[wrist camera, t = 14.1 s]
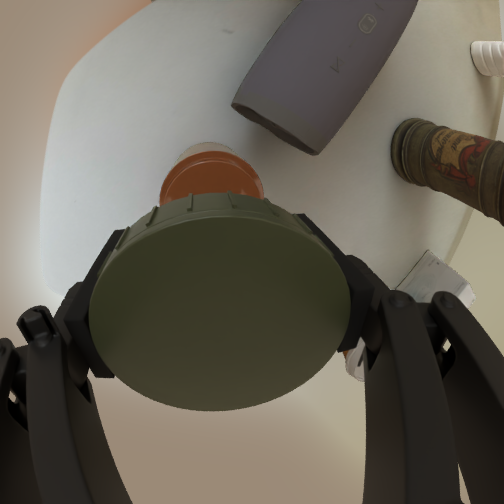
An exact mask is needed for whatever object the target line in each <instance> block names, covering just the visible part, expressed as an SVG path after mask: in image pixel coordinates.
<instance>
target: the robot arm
mask: <svg viewBox="0 0 504 504" xmlns="http://www.w3.org/2000/svg"><path fill="white" fill-rule="evenodd" d="M292 215H293V214H292ZM296 215H297V216H298V217H299V218H300V219H301V220H302V221H303V222H304V223H305V224H306V225H307V226H308V227H309V229H310V230H311V231H312V232H313V233H312V234H313V235H317V236H318V238H319V239H320V240H321V241H322V242H323V243H324V244H325V245H326V246H327V247H328V249H329V250H330V251H331V252H332V253H333V254H334V256H333V258H334V259H335V261H336V262H337V263H338V265H339V266H340V268H341V270H342V272H343V274H344V276H345V278H346V281H347V285H348V288H349V293H350V301H351V307H350V318H349V322H348V327H347V330H346V332H345V335H344V338H343V340H342V342H341V343H340V345H339V347H338V349H337V352H338V353H339V352H343V351H347V350H351V349H355V348H356V347H357V345H358V342H359V339H360V337H361V338H362V340H363V341H364V343H365V346H364V348H363V351H362V354H361V356H360V359H359V361H358V365H357V367H360V366H361V363H362V361H363V366H364V381H365V402H366V461H365V479H364V493H363V503H362V504H464V503H463V502H462V501H461V498H460V484H459V470H458V464H459V467H460V470H461V473H462V476H463V479H464V482H465V486H466V488H467V492H468V496H469V500H470V503H471V504H504V357H503V355H502V354H501V352H500V351H499V349H498V348H497V347H496V345H495V344H494V342H493V341H492V340H491V338H490V337H489V336H488V334H487V333H486V332H485V330H484V329H483V328H482V326H481V325H480V324H479V322H477V320H476V319H475V317H474V316H473V315H472V314H471V312H470V311H469V310H468V309H467V308H466V306H465V305H464V304H463V303H462V302H461V300H460V299H459V298H458V297H456V296H455V295H453V294H452V293H450V292H447V291H438V292H435V293H434V295H433V297H432V299H431V302H430V303H426V302H416V301H415V300H414V298H413V297H412V296H410V295H409V294H408V293H405V292H403V291H400V290H390V289H389V288H388V287H387V286H386V285H385V284H384V283H383V282H382V280H381V279H380V278H379V277H378V276H377V275H376V274H375V273H373V271H372V270H371V269H370V268H368V266H367V265H366V264H365V263H364V262H363V261H362V260H361V259H359V258H357V257H355V256H353V255H345V254H344V253H343V252H342V251H341V250H340V249H339V248H338V247H337V246H336V245H335V244H334V243H333V242H332V241H331V240H330V239H329V238H328V237H327V236H326V235H325V234H324V233H323V232H322V231H321V230H320V229H319V228H318V227H317V226H316V225H315V224H314V223H313V222H312V221H311V220H310V219H309V218H308V217H307V216H306V215H305V214H296ZM124 231H125V229H122V230H115V231H114V232H113V234H112V235H111V237H110V238H109V240H108V241H107V243H106V244H105V246H104V247H103V249H102V251H101V252H100V254H99V255H98V257H97V259H96V260H95V262H94V264H93V265H92V267H91V269H90V270H89V272H88V274H87V276H86V277H85V279H84V281H83V282H77V283H76V284H75V285H74V286H72V287H71V288H70V289H69V291H68V292H67V294H66V296H65V299H64V300H63V301H62V303H61V306H60V307H59V308H58V310H57V312H56V314H55V316H54V318H53V317H52V315H51V313H50V311H49V309H48V308H47V307H46V306H41V305H40V306H35V307H32V308H30V309H28V310H27V311H25V312H24V313H23V314H22V315H21V316H20V318H19V319H18V322H17V326H18V328H19V329H20V331H21V333H22V334H23V336H24V338H25V339H26V341H27V343H28V345H25V346H21V347H17V348H15V346H14V345H13V343H12V342H11V340H9V339H8V338H1V339H0V504H133V503H132V501H131V500H130V497H129V495H128V493H127V491H126V488H125V486H124V484H123V482H122V479H121V477H120V475H119V472H118V470H117V467H116V465H115V462H114V459H113V457H112V454H111V451H110V449H109V446H108V443H107V440H106V437H105V434H104V430H103V427H102V424H101V420H100V417H99V413H98V409H97V406H96V402H95V397H94V393H93V389H92V385H91V383H90V381H89V379H88V377H87V374H88V370H89V368H90V369H91V371H92V372H93V374H94V376H95V377H96V378H114V377H115V375H114V374H113V373H112V372H111V370H110V369H109V368H108V367H107V366H106V364H105V363H104V362H103V360H102V358H101V357H100V355H99V354H98V352H97V350H96V347H95V345H94V343H93V340H92V336H91V332H90V327H89V307H90V300H91V296H92V293H93V290H94V287H95V285H96V283H97V281H98V279H99V277H97V274H98V272H99V270H100V268H101V266H102V265H103V263H104V261H105V259H106V257H107V256H108V254H109V252H110V251H111V252H113V250H114V249H115V247H116V245H117V243H118V241H119V239H120V238H121V236H122V234H123V233H124ZM447 339H448V340H449V342H450V344H451V346H450V348H449V349H448V351H445V350H444V348H443V346H444V344H445V342H446V340H447ZM10 391H11V392H12V393H13V394H14V395H15V396H16V400H15V402H12V401H11V400H10V398H9V393H10Z"/></svg>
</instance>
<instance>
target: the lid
mask: <svg viewBox="0 0 504 504" xmlns="http://www.w3.org/2000/svg"><path fill="white" fill-rule="evenodd" d="M312 233H313V232H312V231H311V230H310V229H309V227H308V226H307V225H306V224H305V223H304V222H303V221H302V220H301V219H300V218H299V217H298V216H297V215H296V214H295V213H294V214H293V215H292V214H290V213H289V212H287V211H286V210H284V209H282V208H281V207H279V206H277V205H274V204H272V203H271V202H270V201H269V200H268V199H267V198H264V199H263V200H262V199H259V198H255V197H252V196H248V195H242V194H235V193H232V191H229V190H228V191H227V193H205V194H198V195H193V193H189V195H188V196H187V197H184V198H180V199H177V200H173V201H171V202H169V203H166V204H164V205H162V206H160V207H157V206H154V207H153V209H152V211H151V212H149V213H148V214H146V215H145V216H143V217H142V218H140V219H139V220H138V221H137V222H136V223H135V224H134V225H132V226H131V227H129V226H128V227H127V228H126V229H125V231H124V233H123V234H122V236H121V238H120V239H119V241H118V243H117V245H116V247H115V249H114V250H113V252H111V251H110V252H109V254H108V256H107V257H106V259H105V261H104V263H103V265H102V266H101V268H100V270H99V272H98V274H97V277H99V279H98V281H97V283H96V285H95V287H94V290H93V293H92V296H91V300H90V307H89V327H90V332H91V336H92V340H93V343H94V345H95V347H96V350H97V352H98V354H99V355H100V357H101V358H102V360H103V362H104V363H105V364H106V366H107V367H108V368H109V369H110V370H111V372H112V373H113V374H114V375H115V376H116V377H117V378H119V379H120V380H121V381H122V382H123V383H125V384H126V385H127V386H129V387H130V388H131V389H133V390H135V391H136V392H138V393H140V394H142V395H143V396H145V397H148V398H150V399H152V400H154V401H157V402H160V403H163V404H166V405H170V406H173V407H177V408H182V409H188V410H196V411H228V410H235V409H242V408H247V407H251V406H256V405H259V404H262V403H265V402H268V401H271V400H273V399H276V398H278V397H281V396H283V395H285V394H287V393H289V392H291V391H292V390H294V389H296V388H297V387H299V386H300V385H302V384H304V383H305V382H306V381H308V380H309V379H310V378H312V377H313V376H314V375H315V374H316V373H317V372H318V371H320V370H321V369H322V368H323V367H324V366H325V364H326V363H327V362H328V361H329V360H330V359H331V357H332V356H333V355H334V353H335V352H336V350H337V349H338V347H339V345H340V343H341V342H342V340H343V338H344V335H345V332H346V330H347V327H348V322H349V318H350V307H351V301H350V293H349V288H348V285H347V281H346V278H345V276H344V274H343V272H342V270H341V268H340V266H339V265H338V263H337V262H336V261H335V259H334V258H333V256H334V254H333V253H332V252H331V251H330V250H329V249H328V247H327V246H326V245H325V244H324V243H323V242H322V241H321V240H320V239H319V238H318V236H317V235H313V234H312Z"/></svg>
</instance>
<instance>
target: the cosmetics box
mask: <svg viewBox="0 0 504 504" xmlns="http://www.w3.org/2000/svg"><path fill="white" fill-rule="evenodd" d="M395 290H400V291H403V292H405V293H408V294H409V295H410V296H412V297H413V298H414V300H415V301H416V302H426V303H430V302H431V299H432V297H433V295H434V293H435V292H438V291H447V292H450V293H452V294H453V295H455V296H456V297H458V298H459V299H460V300H461V302H462V303H463V304H464V305H465V306H466V308H467V309H469V307H470V306H471V305H472V303H473V302H474V301H475V300H476V296H475V294H474V292H473V289H472V287H471V285H470V283H469V282H467V281H466V280H465V279H464V278H463V277H462V276H460V275H459V274H458V273H457V272H456V271H454V270H453V269H452V268H451V267H449V266H448V265H447V264H446V263H444V262H443V261H442V260H441V259H439V258H438V257H437V256H435V255H434V254H433V253H431V252H430V251H429V250H428V251H427V252H426V253H425V254H424V256H423V257H422V258H421V260H420V261H419V262H418V263H417V265H416V266H415V267H414V268H413V269H412V271H411V272H410V273H409V274H408V275H407V277H406V278H405V279H404V280H403V281H402V283H401V284H400V285H399V286H398V287H397V288H396V289H395Z"/></svg>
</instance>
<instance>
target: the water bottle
mask: <svg viewBox="0 0 504 504" xmlns="http://www.w3.org/2000/svg"><path fill="white" fill-rule="evenodd" d="M471 55H472V58H473V59H474V60H473V61H474V64H475V66H476V68H477V69H478V71H479V72H480V73H481V74H483V75H485V76H497V77H504V42H501V41H495V42H493V41H474V42H473V43H472V44H471Z"/></svg>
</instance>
